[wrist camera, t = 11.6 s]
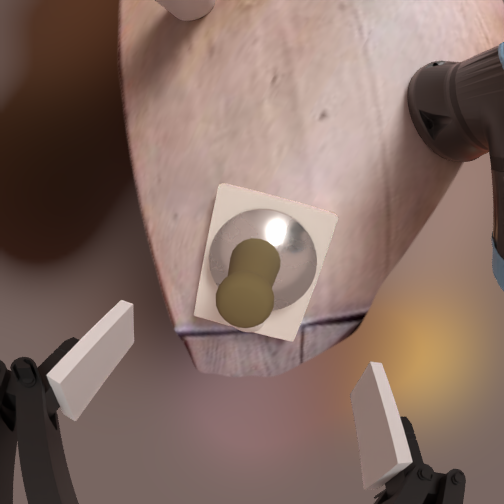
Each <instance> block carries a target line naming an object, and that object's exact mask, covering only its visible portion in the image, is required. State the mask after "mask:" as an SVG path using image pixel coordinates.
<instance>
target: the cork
mask: <svg viewBox="0 0 504 504" xmlns="http://www.w3.org/2000/svg"><path fill="white" fill-rule="evenodd" d="M280 263H281V260H280V256H279V253H278V251H277V250H276V248H275V247H274V246H273V245H272V244H270V243H269V242H268V241H265V240H262V239H257V238H251V239H247V240H244V241H242V242H241V243H239V244H238V245H237V246H236V247H235V248H234V250H233V251H232V254H231V257H230V263H229V270H228V276H227V277H226V278H225V279H224V280H223V281H222V282H221V283H220V285H219V287H218V289H217V292H216V307H217V309H218V312H219V314H220V315H221V316H222V317H223V319H224V320H225V321H227V322H228V323H229V324H231V325H233V326H236V327H239V328H251V327H255V326H258V325H260V324H262V323H263V322H264V321H265V320H266V319H267V318H268V317H269V316H270V314H271V312H272V310H273V308H274V293H273V290H272V287H273V284H274V282H275V279H276V277H277V274H278V272H279V270H280Z"/></svg>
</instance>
